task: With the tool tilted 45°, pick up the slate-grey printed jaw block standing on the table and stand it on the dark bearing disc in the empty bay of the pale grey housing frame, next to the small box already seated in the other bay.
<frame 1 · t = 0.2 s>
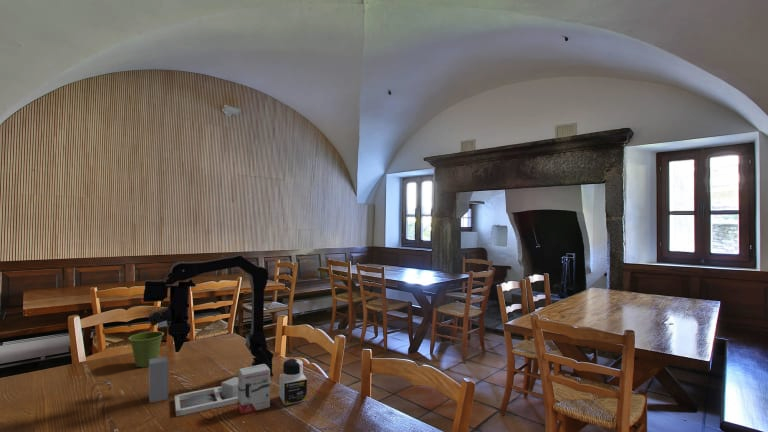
hand: (176, 347, 129), 14 cm above the table, tool pointing down, fingers open, 9 cm apart
ink box: (253, 408, 119), on the table
medicine bottle: (292, 399, 125), on the table
plant pot: (146, 364, 153), on the table
small box: (233, 396, 127), resting in housing
housing: (215, 399, 124), on the table
jaw block: (158, 398, 125), on the table
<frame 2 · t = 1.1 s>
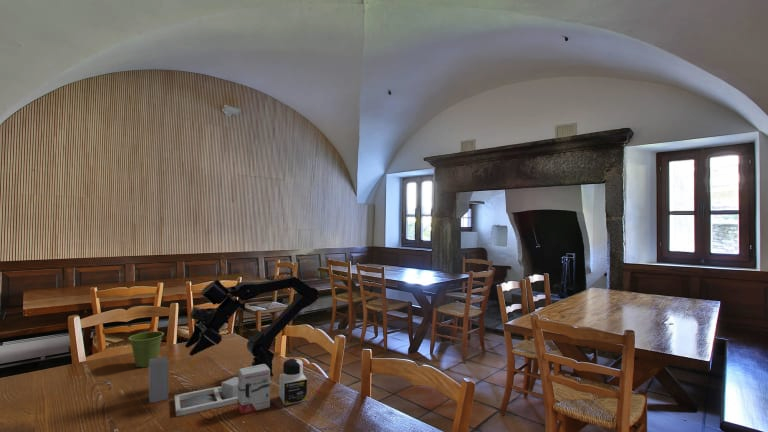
hand: (188, 350, 129), 13 cm above the table, tool tilted 45°, fingers open, 9 cm apart
nothing on the table moved.
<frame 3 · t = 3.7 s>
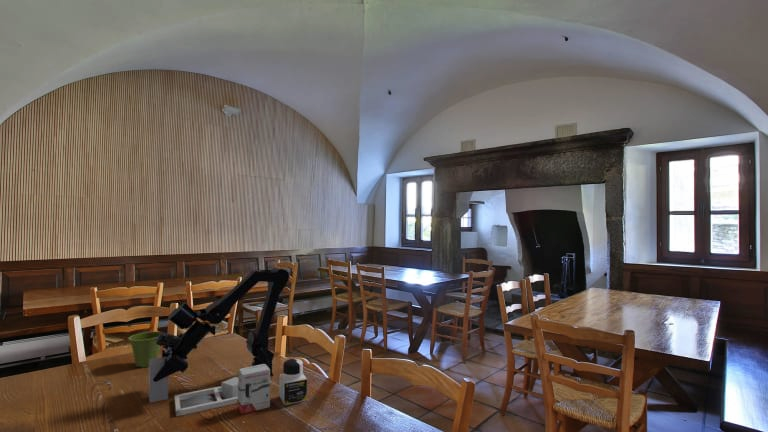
hand: (153, 378, 124), 7 cm above the table, tool tilted 45°, fingers closed on jaw block, 5 cm apart
jaw block: (158, 398, 125), on the table, touching gripper
everything else where it was.
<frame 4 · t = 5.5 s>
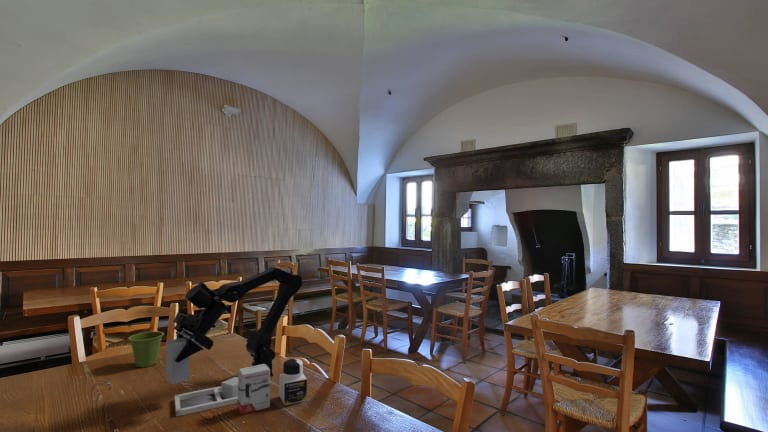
hand: (173, 359, 121), 13 cm above the table, tool tilted 45°, fingers closed on jaw block, 5 cm apart
jaw block: (177, 379, 122), point 7 cm above the table, touching gripper
everything else where it was.
when the fingers open (8 cm above the table, at t = 7.5 s): jaw block drops 1 cm, resting on housing.
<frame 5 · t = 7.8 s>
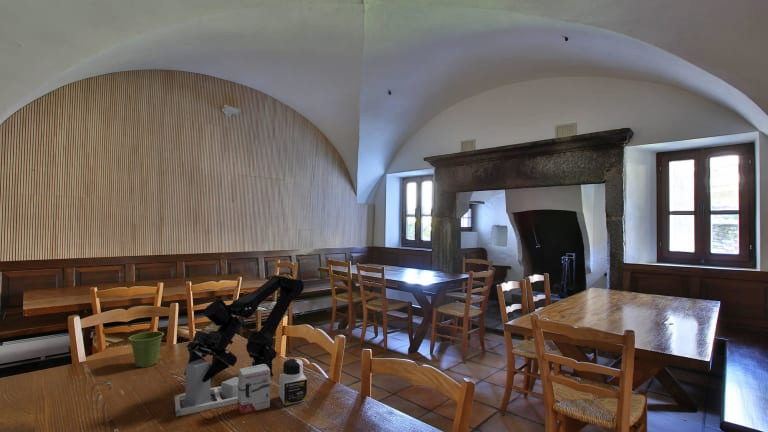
hand: (194, 378, 120), 8 cm above the table, tool tilted 45°, fingers open, 9 cm apart
jaw block: (198, 401, 121), resting on housing
everything else where it was.
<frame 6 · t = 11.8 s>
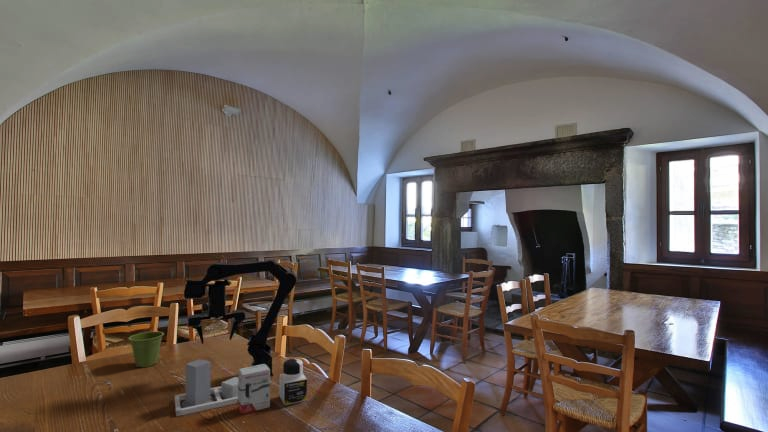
hand: (216, 341, 140), 13 cm above the table, tool pointing down, fingers open, 9 cm apart
nothing on the table moved.
at the end: jaw block 0.0 cm from the target spot on the housing, point 0.4 cm above the housing's base; jaw block tilted 0°; the gripper is holding nothing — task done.
